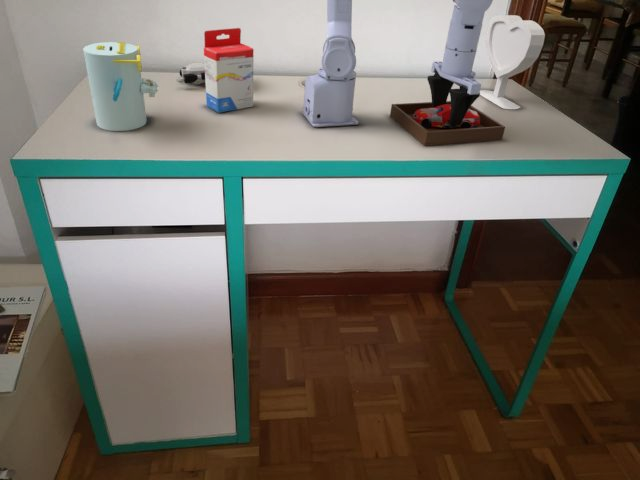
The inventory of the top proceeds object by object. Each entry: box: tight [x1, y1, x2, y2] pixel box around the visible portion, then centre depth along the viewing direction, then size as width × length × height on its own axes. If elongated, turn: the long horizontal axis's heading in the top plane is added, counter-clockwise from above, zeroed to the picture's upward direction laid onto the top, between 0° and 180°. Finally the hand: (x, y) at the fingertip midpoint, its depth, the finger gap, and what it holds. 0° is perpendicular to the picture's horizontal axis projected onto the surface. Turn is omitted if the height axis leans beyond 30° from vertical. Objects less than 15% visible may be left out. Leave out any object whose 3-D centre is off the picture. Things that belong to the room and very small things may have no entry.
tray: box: [389, 100, 506, 147], centre depth 104 cm, size 17×15×3 cm
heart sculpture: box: [480, 14, 546, 110], centre depth 117 cm, size 16×5×18 cm, turn 18°
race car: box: [413, 104, 480, 129], centre depth 103 cm, size 13×5×4 cm, turn 86°
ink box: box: [203, 27, 254, 114], centre depth 102 cm, size 8×5×15 cm, turn 129°
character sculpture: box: [82, 41, 159, 132], centre depth 92 cm, size 20×12×13 cm, turn 17°
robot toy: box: [175, 62, 206, 86], centre depth 116 cm, size 12×4×15 cm
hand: (446, 118), depth 103 cm, fingers closed on race car, 6 cm apart
